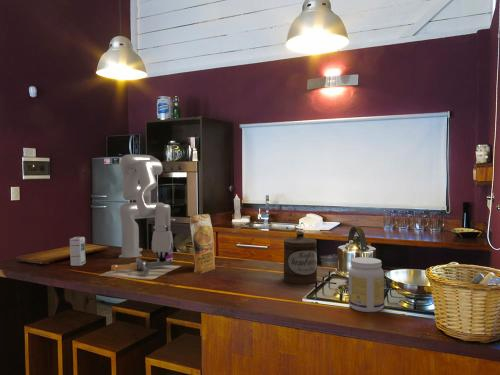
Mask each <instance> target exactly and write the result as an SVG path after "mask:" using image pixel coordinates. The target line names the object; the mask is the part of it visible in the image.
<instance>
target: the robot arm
mask: <svg viewBox="0 0 500 375" xmlns="http://www.w3.org/2000/svg"><path fill="white" fill-rule="evenodd" d="M163 168H164V167H163V164H162V162H161V161H160V160H159V159H158V158H156V157H155V156H153V155H150V154H148V155H147V154H125V155H123V156H122V157H121V158H120V169H121V170H120V171H121V173H122V198H123V199H124V200H125V201H135V202H124V203H123V204H121V205H120V206H119V217H120V224H121V226H120V228H121V254H119V255H118V258H119V259H120V258H127V259H128V258H129V259H130V258H139V257H142V256H143V255H142V253H141V252H142V251H143V250H144V249H143V248H142V247H140V244H139V242H140V237H139V236H140V234H139V233H140V232H139V230H140V229H139V224H138V223H137V221H135V220H137V219H139V220H140V219H150V218H151V219H152V218H154V225H153V226H152V228H153V229H154V231H153V232H152V238H151V239H152V240H151V250H152V253H153V254H156V256H157V255H158V257H159V261H166V257H167V256H168V255H169V254H172V253H174V251H172V250H174V239H173V238H174V237H173V233H172V231H171V205H170V204H167V203H164V202H152V200H151V199H152V192H151V191H152V190H154V189H155V188H157V186H158V183H157V180H156V176H160V175H162V173H163Z"/></svg>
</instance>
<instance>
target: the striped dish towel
mask: <svg viewBox="0 0 500 375" xmlns="http://www.w3.org/2000/svg"><path fill="white" fill-rule="evenodd" d="M130 264H136V262H132V263H130ZM180 267H181V265H173V264H171V265H167V266H156V267H147V268H148V269H149V274H144V273H143V271H138V270H137V268H135V269H125V270H116V271H112V270H109V271H106V272H104V273H100V274H99V276H104V277H114V278H116V277H117V278H126V279H139V280H149V281H152V280H154V279H156V278H159V277H160V276H164V275H165V274H167V273H169V272H171V271H173V270H177V269H178V268H180Z"/></svg>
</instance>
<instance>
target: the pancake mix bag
mask: <svg viewBox="0 0 500 375" xmlns="http://www.w3.org/2000/svg"><path fill="white" fill-rule="evenodd" d="M188 223H189V229H190V240H191V245H192V248H193V249H192V250H193V273H196V272H198V273H197V274H198V275H201V274H204V273H208V272H210V271H214V270H215V269H216V264H215V260H216V259H215V239H214V230H213V225H212V219H211V215H210V213H204V214H195V215H191V216H190V217H189V222H188Z"/></svg>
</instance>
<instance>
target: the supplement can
mask: <svg viewBox="0 0 500 375" xmlns="http://www.w3.org/2000/svg"><path fill="white" fill-rule="evenodd" d="M173 250H174V249H173ZM173 250H172V251H173ZM173 253H174V251H173ZM173 253H172V254H169V255H168V256H167V257H166V261H169V260H170V261H171V263H172V262H173V258H174V256H173ZM156 259H157V260H156V262H158V261H159V257H158V255H157V254H156Z"/></svg>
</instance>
